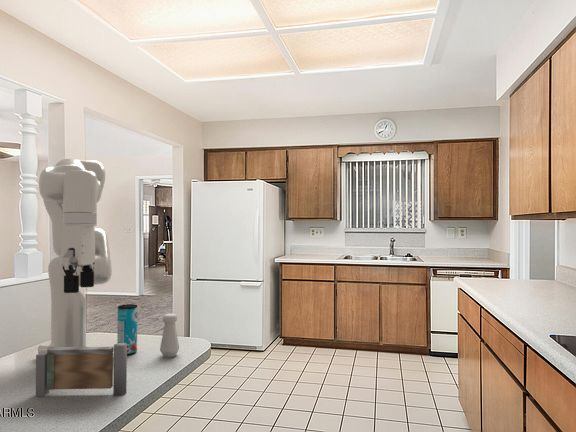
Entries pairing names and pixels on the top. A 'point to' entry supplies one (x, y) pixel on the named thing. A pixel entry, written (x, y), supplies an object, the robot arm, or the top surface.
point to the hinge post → (120, 369)
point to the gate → (80, 368)
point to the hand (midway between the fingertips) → (79, 289)
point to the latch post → (41, 374)
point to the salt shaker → (169, 337)
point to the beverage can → (127, 327)
